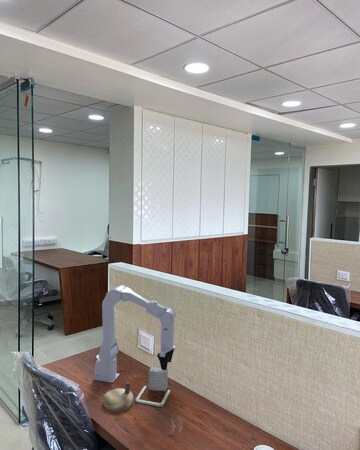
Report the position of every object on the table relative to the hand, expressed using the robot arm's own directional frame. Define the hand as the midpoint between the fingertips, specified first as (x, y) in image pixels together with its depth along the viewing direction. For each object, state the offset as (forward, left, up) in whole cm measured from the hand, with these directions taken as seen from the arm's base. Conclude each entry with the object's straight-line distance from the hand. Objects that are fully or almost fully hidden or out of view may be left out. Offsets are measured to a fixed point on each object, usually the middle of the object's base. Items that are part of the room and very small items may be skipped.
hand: (166, 365), depth 161 cm
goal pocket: (-3, -8, -10) cm, 14 cm away
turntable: (-15, -17, -10) cm, 25 cm away
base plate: (-15, -17, -10) cm, 25 cm away
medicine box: (-3, -2, -10) cm, 11 cm away
